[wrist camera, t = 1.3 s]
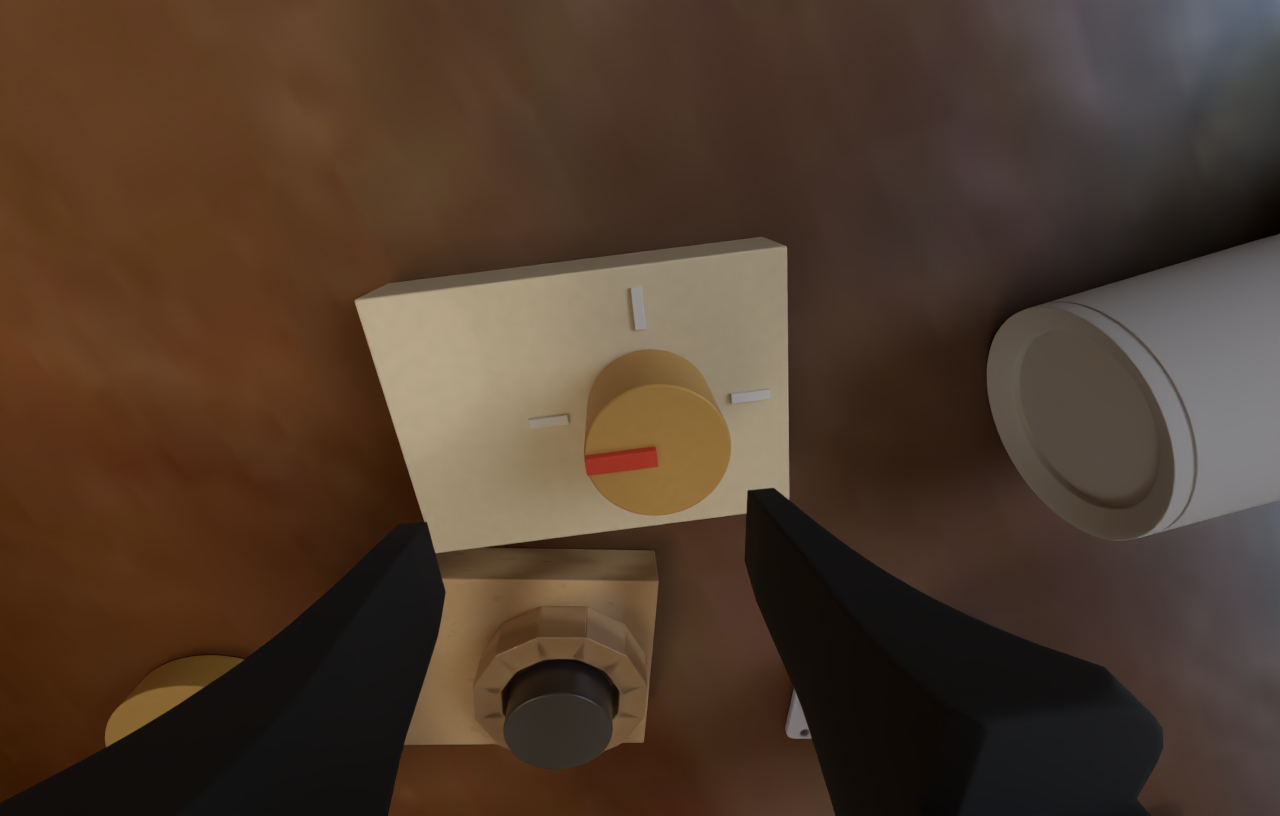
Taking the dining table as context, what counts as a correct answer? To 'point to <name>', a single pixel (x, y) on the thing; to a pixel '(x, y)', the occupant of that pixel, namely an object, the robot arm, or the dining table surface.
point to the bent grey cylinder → (1148, 395)
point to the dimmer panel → (573, 381)
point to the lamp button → (559, 714)
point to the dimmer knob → (654, 434)
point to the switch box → (536, 635)
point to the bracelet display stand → (165, 691)
